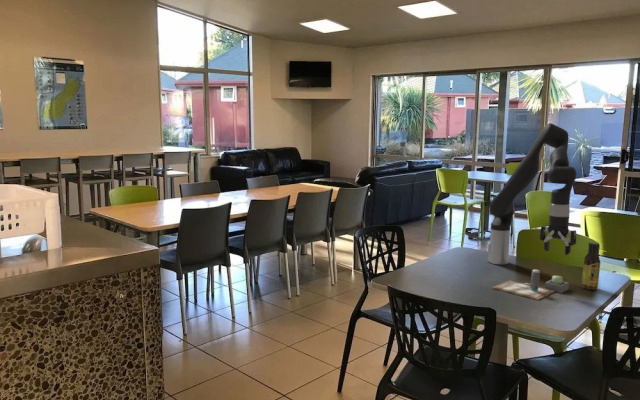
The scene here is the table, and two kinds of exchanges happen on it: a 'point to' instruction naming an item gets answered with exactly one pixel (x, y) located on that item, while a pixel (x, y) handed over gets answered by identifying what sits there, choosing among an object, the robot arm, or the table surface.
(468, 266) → the table surface
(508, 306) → the table surface
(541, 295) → the clipboard
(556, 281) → the button
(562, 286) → the button housing
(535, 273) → the cylinder
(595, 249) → the sauce bottle
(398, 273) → the table surface
